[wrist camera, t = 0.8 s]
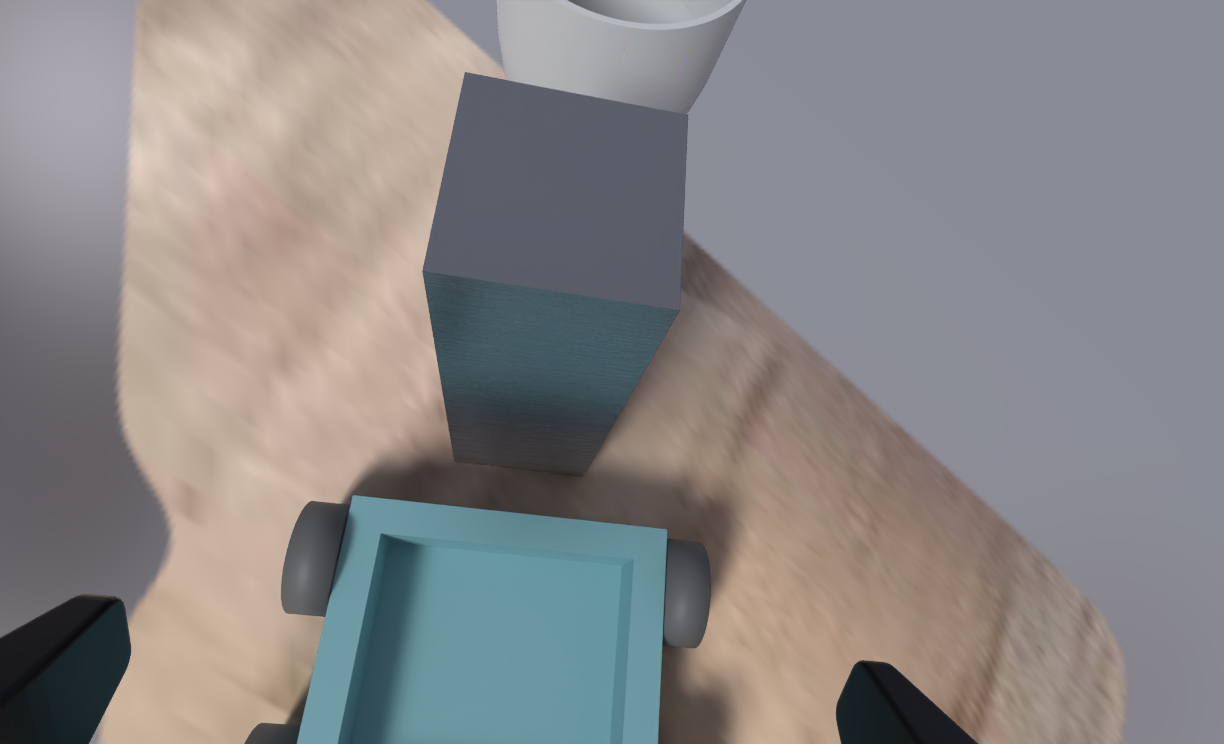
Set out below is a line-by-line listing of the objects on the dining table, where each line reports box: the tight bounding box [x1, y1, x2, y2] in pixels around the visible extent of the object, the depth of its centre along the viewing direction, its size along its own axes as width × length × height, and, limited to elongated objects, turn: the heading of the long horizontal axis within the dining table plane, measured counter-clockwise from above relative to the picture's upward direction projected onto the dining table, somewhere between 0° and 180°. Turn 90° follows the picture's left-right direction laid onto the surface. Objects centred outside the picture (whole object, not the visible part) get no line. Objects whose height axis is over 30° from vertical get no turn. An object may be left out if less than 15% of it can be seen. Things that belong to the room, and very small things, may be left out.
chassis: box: [245, 495, 711, 744], centre depth 20 cm, size 10×12×3 cm
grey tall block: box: [423, 72, 688, 476], centre depth 19 cm, size 4×4×13 cm
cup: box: [497, 0, 746, 114], centre depth 25 cm, size 8×8×10 cm
